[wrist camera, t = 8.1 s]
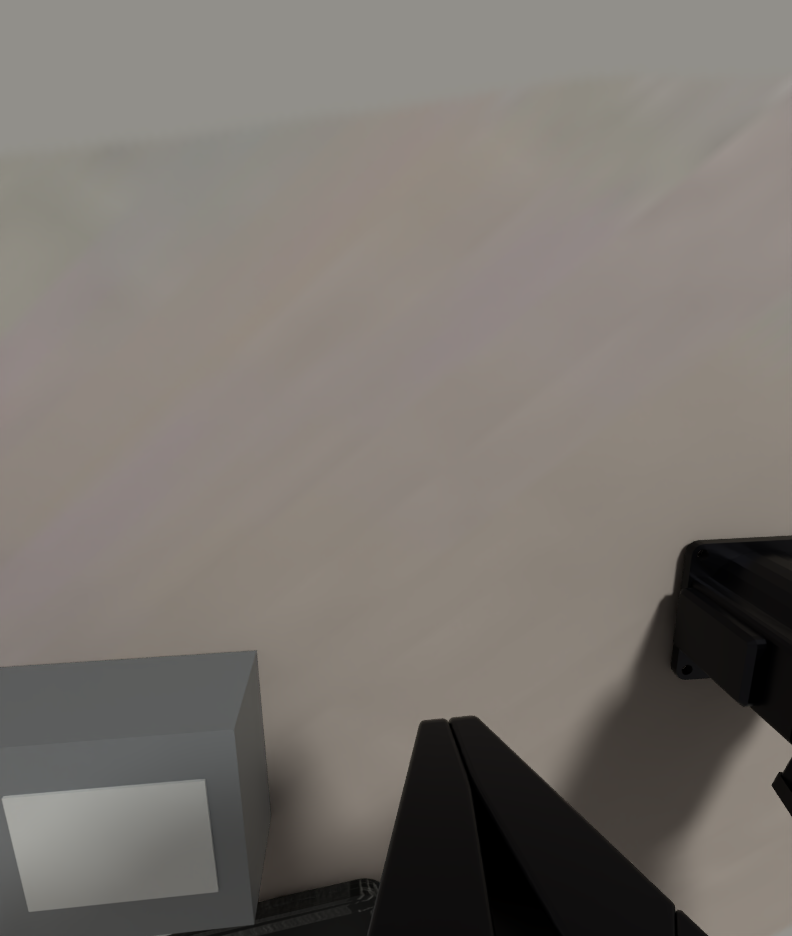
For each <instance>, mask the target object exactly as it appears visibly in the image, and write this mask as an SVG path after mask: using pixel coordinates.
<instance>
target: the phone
mask: <svg viewBox="0 0 792 936" xmlns="http://www.w3.org/2000/svg"><path fill="white" fill-rule="evenodd" d="M379 885H380V883H379V882H377V881H375V880H372V879H358V880H353V881H349V882H345V883H340V884H336V885H332V886H327V887H323V888H319V889H315V890H310V891H306V892H302V893H297V894H293V895H289V896H284V897H280V898H276V899H272V900H267V901H263V902H259V903H258V904H257V910H256V916H255V923H254V925H246V926H237V927H228V928H219V929H211V930H202V931H193V932H184V933H175V934H171V935H167V936H367V933H368V929H369V925H370V921H371V917H372V913H373V909H374V905H375V901H376V897H377V893H378V889H379Z"/></svg>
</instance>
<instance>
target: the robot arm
mask: <svg viewBox="0 0 792 936" xmlns="http://www.w3.org/2000/svg"><path fill="white" fill-rule="evenodd" d="M700 550H702V553H701V555H700V556H697V555H698V552H699V551H700ZM673 642H674V645H673V653H672V661H671V669H672V671H673V672H674V673H675V674H676V675H677V676H678V677H679V678H680V679H683V680H689V679H702V678H711V679H713V680H714V681H715V682H716V683H717V684H718V685H719V686H720V687H721V688H722V689H723V690H725V691H726V692H727V693H728V694H729V695H730V696H731V697H732V698H733V699H734V700H735V701H736V702H738V703H739V704H740V705H741V706H743V707H751V708H752V709H753V710H754V711H755V712H756V713H757V714H758V715H759V716H761V717H762V718H763V719H764V720H765V721H766V722H767V723H768V724H769V725H770V726H772V727H773V728H774V729H775V730H776V731H777V732H778V733H779V734H780V735H782V736H783V737H784V738H785V739H786V740H787V741H788V742H789V743H790V744H792V536H774V537H754V538H734V539H715V540H698V541H694V542H692V543H691V544H690V545H689V546H688V547H687V549H686V553H685V561H684V569H683V576H682V584H681V592H680V594H679V602H678V610H677V617H676V625H675V633H674V640H673ZM684 666H686V667H685V668H684V669H682V668H683V667H684ZM772 787H773V788H774V790H775V792H776V793H777V795H778V796H779V798H780V799H781V801H782V802H783V804H784V805H785V807H786V808H787V810H788V811H789V813H790V815H791V816H792V758H791V759H790V761H789V763H788V764H787V766H786V768H785V770H784V771H783V772H779V773H778V775H777V776H776V778H775V780H774V782H773V783H772ZM367 936H708V935H707V934H706V933H705V932H704V931H703V930H702V929H700V928H699V927H698V926H697V925H696V924H695V923H694V922H693V921H692V920H691V919H690V918H689V917H688V916H687V915H686V914H685V913H684V912H683V911H681V910H677V911H676V913H675V905H674V903H673V902H672V901H671V900H670V899H668V898H667V897H666V896H665V895H664V894H663V893H662V892H661V891H660V890H659V889H658V888H657V887H656V886H655V885H654V884H653V883H652V882H651V881H649V880H648V879H647V878H646V877H645V876H644V875H643V874H642V873H641V872H640V871H639V870H638V869H637V868H636V867H635V866H634V865H633V864H632V863H631V862H629V861H628V860H627V859H626V858H625V857H624V856H623V855H622V854H621V853H620V852H619V851H618V850H617V849H616V848H615V847H614V846H613V845H612V844H610V843H609V842H608V841H607V840H606V839H605V838H604V837H603V836H602V835H601V834H600V833H599V832H598V831H597V830H596V829H595V828H594V827H593V826H592V825H590V824H589V823H588V822H587V821H586V820H585V819H584V818H583V817H582V816H581V815H580V814H579V813H578V812H577V811H576V810H575V809H574V808H573V807H572V806H570V805H569V804H568V803H567V802H566V801H565V800H564V799H563V798H562V797H561V796H560V795H559V794H558V793H557V792H556V791H555V790H554V789H553V788H551V787H550V786H549V785H548V784H547V783H546V782H545V781H544V780H543V779H542V778H541V777H540V776H539V775H538V774H537V773H536V772H535V771H534V770H533V769H531V768H530V767H529V766H528V765H527V764H526V763H525V762H524V761H523V760H522V759H521V758H520V757H519V756H518V755H517V754H516V753H515V752H514V751H512V750H511V749H510V748H509V747H508V746H507V745H506V744H505V743H504V742H503V741H502V740H501V739H500V738H499V737H498V736H497V735H496V734H495V733H494V732H492V731H491V730H490V729H489V728H488V727H487V726H486V725H485V724H484V723H483V722H482V721H481V720H480V719H479V718H477V717H475V716H462V717H453V718H451V719H450V720H449V722H448V721H447V720H446V719H443V718H442V719H432V720H424V721H422V722H421V723H420V724H419V728H418V732H417V736H416V740H415V744H414V748H413V752H412V756H411V760H410V764H409V768H408V772H407V776H406V780H405V784H404V788H403V792H402V796H401V800H400V804H399V808H398V812H397V816H396V820H395V824H394V828H393V832H392V837H391V841H390V845H389V849H388V853H387V857H386V861H385V865H384V869H383V873H382V877H381V881H380V885H379V889H378V893H377V897H376V901H375V905H374V909H373V913H372V917H371V921H370V925H369V929H368V933H367Z"/></svg>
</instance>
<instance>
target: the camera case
mask: <svg viewBox="0 0 792 936" xmlns="http://www.w3.org/2000/svg"><path fill="white" fill-rule="evenodd" d="M270 820H271V809H270V798H269V787H268V775H267V764H266V752H265V741H264V730H263V718H262V707H261V695H260V684H259V673H258V661H257V651H242V652H227V653H212V654H197V655H181V656H166V657H151V658H136V659H121V660H105V661H90V662H75V663H60V664H44V665H29V666H14V667H0V936H167V935H171V934H175V933H184V932H193V931H202V930H211V929H219V928H228V927H237V926H246V925H254V923H255V916H256V910H257V904H258V897H259V891H260V884H261V878H262V872H263V865H264V859H265V852H266V846H267V839H268V833H269V827H270Z"/></svg>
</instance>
